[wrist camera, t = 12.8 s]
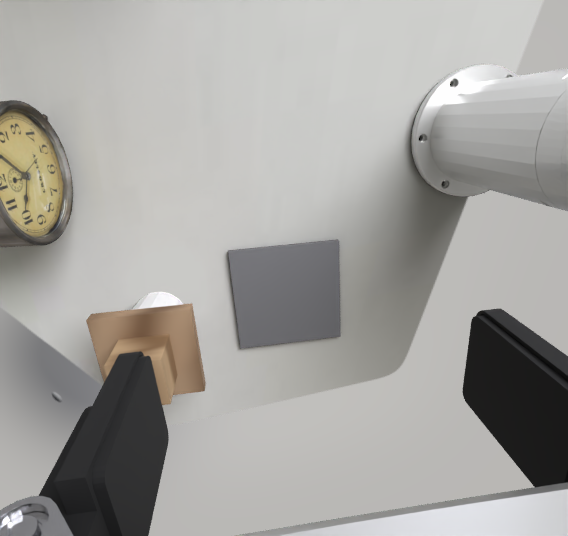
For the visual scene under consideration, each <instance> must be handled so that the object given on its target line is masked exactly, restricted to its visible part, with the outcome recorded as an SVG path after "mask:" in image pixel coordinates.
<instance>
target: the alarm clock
mask: <svg viewBox="0 0 568 536" xmlns="http://www.w3.org/2000/svg"><path fill="white" fill-rule="evenodd" d="M47 120H48V118H47V116H46V115H44V114H41V113H40V112H39V111H37V110H36V109H35V108H33V107H32V106H30V105H28V104H27V103H24V102H21V101H13V100H11V101H2V102H0V247H12V246H33V245H47V244H50V243H52V242H54V241H55V240H57V239H58V238H59V237H60V236H61V235H62V233H63V232H64V230H65V229H66V226H67V224H68V222H69V219H70V215H71V210H72V202H73V187H72V177H71V172H70V168H69V164H68V160H67V157H66V154H65V151H64V148H63V146H62V144H61V142H60V140H59V138H58V136H57V134H56V133H55V131H54V129H53V128H52V126H51V125H50V123H49V122H48V121H47Z"/></svg>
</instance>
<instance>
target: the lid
mask: <svg viewBox="0 0 568 536" xmlns="http://www.w3.org/2000/svg"><path fill="white" fill-rule="evenodd" d="M86 321H87V325H88V328H89V332H90V335H91V338H92V342H93V345H94V349H95V352H96V356H97V359H98V363H99V366H100V370H101V373H102V377H103V380H104V382H105V380H106V378H107V376H108V374H109V372H110V371H111V369H112V367H113V365H114V363H115V361H116V359H117V357H118V355H119V354H122V353H131V352H139V351H141V352H142V353H143V354H144V356H150V358H151V361H152V365H153V369H154V373H155V378H156V382H157V386H158V390H159V395H160V399H161V403H162V405H166V404H171V400H172V396H173V395H177V394H185V393H193V392H201V391H205V377H204V371H203V365H202V359H201V353H200V348H199V342H198V336H197V330H196V324H195V318H194V312H193V306H192V304H183V305H173V306H163V307H154V308H144V309H135V310H125V311H116V312H106V313H96V314H91V315H90V316H89V318H88V319H87V320H86Z"/></svg>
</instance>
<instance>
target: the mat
mask: <svg viewBox="0 0 568 536" xmlns="http://www.w3.org/2000/svg"><path fill="white" fill-rule="evenodd" d="M228 255H229V263H230V271H231V279H232V286H233V294H234V302H235V310H236V317H237V325H238V333H239V340H240V348H249V347H258V346H266V345H274V344H282V343H291V342H299V341H307V340H315V339H324V338H332V337H340V271H339V241H338V240H329V241H319V242H309V243H299V244H289V245H279V246H269V247H259V248H249V249H239V250H229V251H228Z"/></svg>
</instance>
